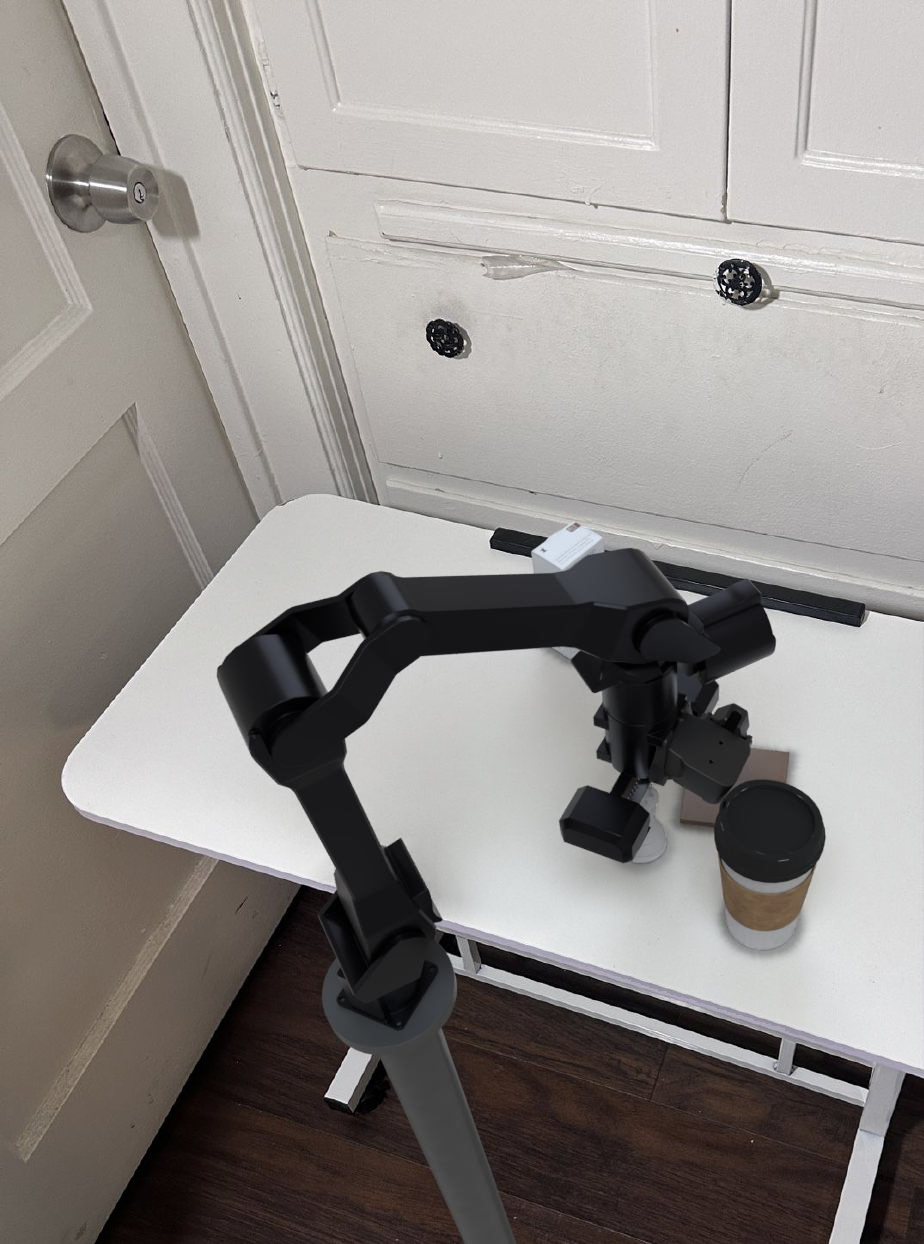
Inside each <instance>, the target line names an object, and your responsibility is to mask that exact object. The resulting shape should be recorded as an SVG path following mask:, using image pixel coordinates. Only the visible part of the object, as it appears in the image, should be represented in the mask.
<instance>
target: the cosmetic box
mask: <svg viewBox="0 0 924 1244" xmlns="http://www.w3.org/2000/svg"><path fill="white" fill-rule="evenodd" d="M602 552H605V540H604V537H603V536H601V535H600V534H598V533H596V532H594V531H592V530H591V529H589V528H587V527H585V526H584V525H582V524H579V523H577V522H576V521H574V520H573V521H571V522H570V523H569V524H567V525H566V526H565V527H563V528H561V529H560V530H557V531H555V532H554V533H552V534H551V535H550V536H548V538H546V540H545V541H543V542H542V543H541V544H540V545H538V546H537V547H535V548H534V549H532V550H531V552H530V555H531V561H532V571H533V574H535V573H555V572H561V571H566V570H568V569H569V568H570V567H572V566H573V565H574V564H575V563H577V562H578V561H579V560H580V559H582V558H583V557H584V556H587V555H591V554H597V553H602ZM551 648H552V649H553V650H554V651H556V652H558V653H559V654H561V655H562V656H563V657H565V658H567V659H569V660H571V659H572V658H573V657H574V656H575V655H576V654H577V652H579V651H580V650H578V649H575V648H567V647H551Z"/></svg>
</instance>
